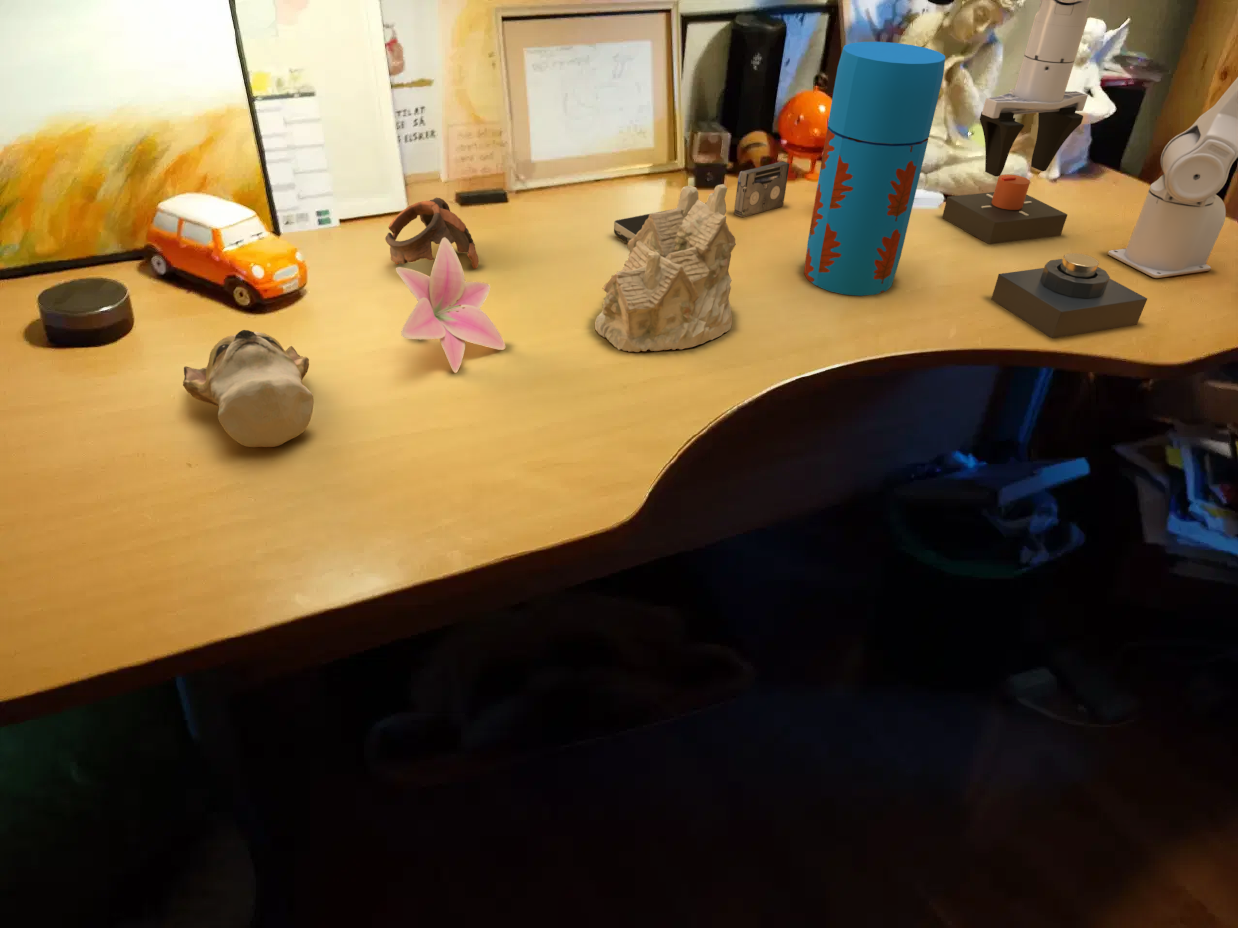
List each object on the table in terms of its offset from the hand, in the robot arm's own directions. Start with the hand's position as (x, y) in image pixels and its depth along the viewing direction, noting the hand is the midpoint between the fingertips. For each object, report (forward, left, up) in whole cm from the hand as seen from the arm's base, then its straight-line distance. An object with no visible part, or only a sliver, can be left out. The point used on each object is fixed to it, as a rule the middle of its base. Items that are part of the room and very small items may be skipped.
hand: (1015, 171), depth 116 cm
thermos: (+27, +6, -9) cm, 29 cm away
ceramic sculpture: (+94, +18, -9) cm, 96 cm away
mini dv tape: (+27, -17, -9) cm, 33 cm away
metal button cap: (+8, +21, -4) cm, 23 cm away
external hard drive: (+44, -11, -9) cm, 46 cm away
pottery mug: (+73, -11, -9) cm, 74 cm away
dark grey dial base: (-3, -3, -9) cm, 10 cm away
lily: (+76, +11, -9) cm, 77 cm away
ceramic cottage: (+53, +9, -9) cm, 55 cm away
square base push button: (+8, +21, -9) cm, 24 cm away
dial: (-3, -3, -6) cm, 7 cm away
